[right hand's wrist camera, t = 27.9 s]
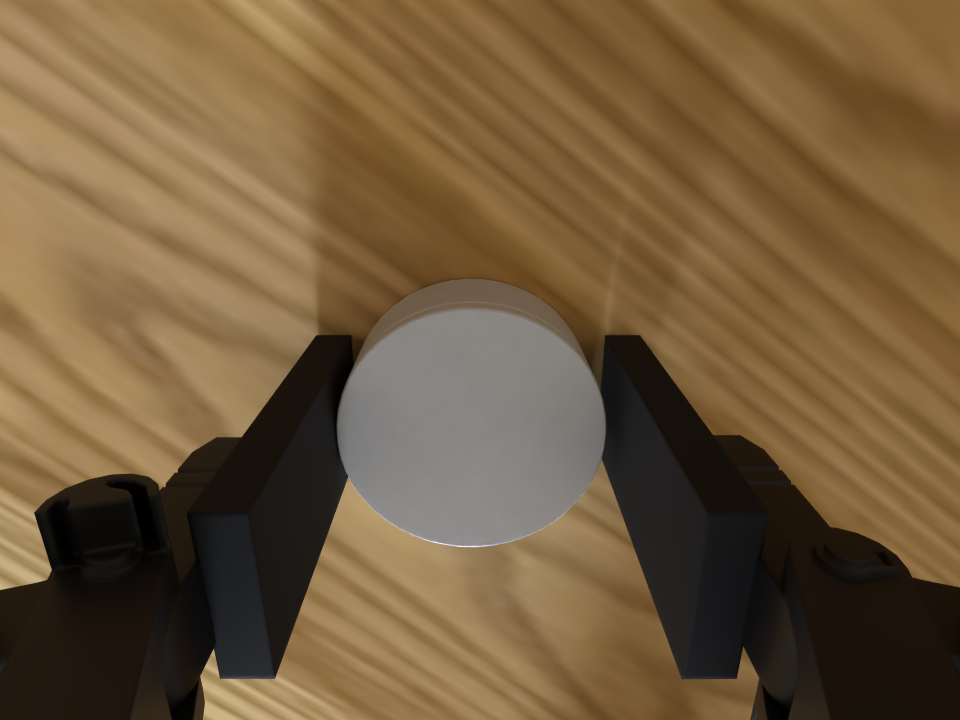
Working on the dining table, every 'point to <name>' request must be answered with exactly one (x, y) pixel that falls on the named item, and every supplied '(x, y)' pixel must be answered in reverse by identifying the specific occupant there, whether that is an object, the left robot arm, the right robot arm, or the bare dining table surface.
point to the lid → (471, 415)
